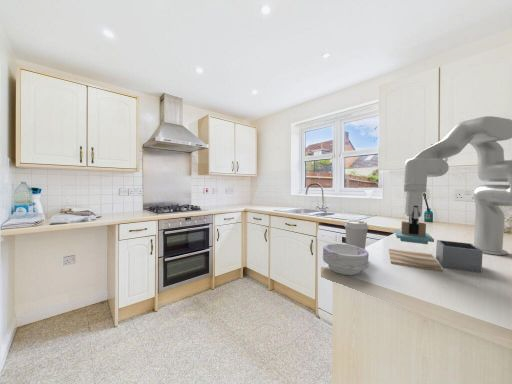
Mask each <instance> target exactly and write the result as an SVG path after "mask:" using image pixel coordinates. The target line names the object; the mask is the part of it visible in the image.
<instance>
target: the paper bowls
mask: <svg viewBox="0 0 512 384" xmlns="http://www.w3.org/2000/svg"><path fill="white" fill-rule="evenodd" d="M322 260H323V262H324V263H326V264H327V266H328V268H329V269H330V270H331V271H332V272H335V273H337V274H340V275H344V276H354V275H358V274H359V273H361V271H363V270H365V269H367V268H368V265H369V251H368V250H366V248H365V249H363V248H360V247H357V246H353V245H348V244H346V243H335V242H334V243H328V244H324V245H323V248H322Z"/></svg>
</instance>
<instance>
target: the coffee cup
mask: <svg viewBox="0 0 512 384" xmlns="http://www.w3.org/2000/svg"><path fill="white" fill-rule="evenodd" d="M343 227H345V242H346V243H345V244H348V245H353V246H357V247H360V248H363V249H365V250H366V243H367V236H368V235H367V234H368V230H369V228H370V227H369V225H368V222H366V221H361V220H346V221H345V223H344V225H343Z"/></svg>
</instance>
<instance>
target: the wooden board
mask: <svg viewBox="0 0 512 384" xmlns="http://www.w3.org/2000/svg"><path fill="white" fill-rule="evenodd" d="M388 253H389V260H390V264H394V265H399V266H400V265H401V266H408V267H413V268H418V269H424V270H431V271H437V272H438V271H439V272H443V267H442V266H441V265H440V263H439V262H438V261H437V259H436V257H434V255H433V254H432V253H425V252H418V251H410V250H405V249H403V250H402V249H397V248H388Z"/></svg>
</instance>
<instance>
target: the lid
mask: <svg viewBox="0 0 512 384" xmlns="http://www.w3.org/2000/svg"><path fill="white" fill-rule="evenodd" d="M409 224H410V222H409V221H405V220H401V230H396V229H395V230H394V232H395V236H396V238H397V239H400V242H405V243H412V244H420V245H421V244H422V245H429V242H430V243H434V242H435V238H433V237H432V236H431V234H429V233H427V223H426V222H419V234H410V233H409Z"/></svg>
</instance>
